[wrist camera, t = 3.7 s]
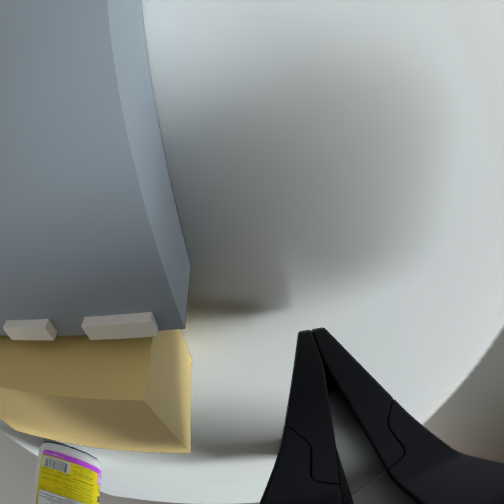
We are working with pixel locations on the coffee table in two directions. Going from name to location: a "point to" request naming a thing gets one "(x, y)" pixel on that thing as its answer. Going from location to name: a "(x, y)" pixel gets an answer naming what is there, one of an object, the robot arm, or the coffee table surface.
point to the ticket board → (84, 177)
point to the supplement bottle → (66, 476)
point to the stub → (100, 391)
